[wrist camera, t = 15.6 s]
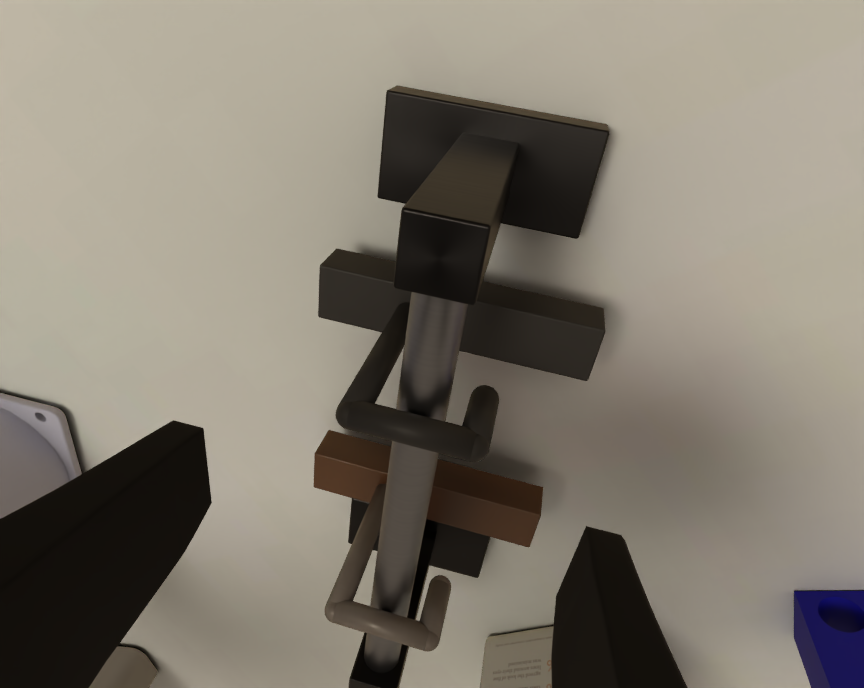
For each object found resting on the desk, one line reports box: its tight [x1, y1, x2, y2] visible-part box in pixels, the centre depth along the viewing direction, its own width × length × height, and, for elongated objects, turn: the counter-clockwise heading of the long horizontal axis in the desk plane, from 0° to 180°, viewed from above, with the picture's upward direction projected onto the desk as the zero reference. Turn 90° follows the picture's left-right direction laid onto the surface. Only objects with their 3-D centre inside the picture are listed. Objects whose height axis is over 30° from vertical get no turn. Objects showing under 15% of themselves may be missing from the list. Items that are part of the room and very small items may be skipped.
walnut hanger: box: [314, 430, 543, 651], centre depth 19 cm, size 8×2×7 cm, turn 82°
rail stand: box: [348, 86, 609, 688], centre depth 18 cm, size 6×19×8 cm, turn 172°
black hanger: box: [318, 249, 605, 462], centre depth 15 cm, size 8×2×7 cm, turn 82°
